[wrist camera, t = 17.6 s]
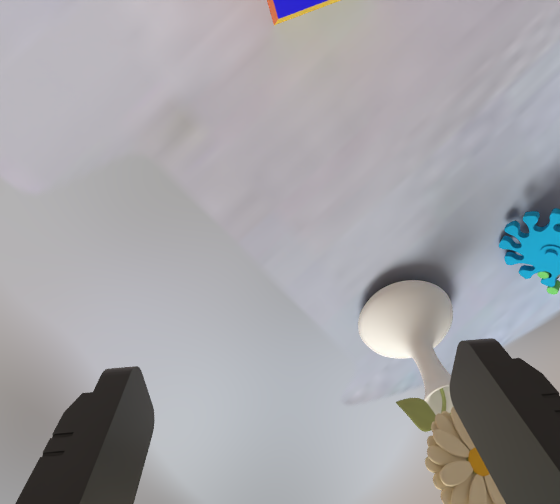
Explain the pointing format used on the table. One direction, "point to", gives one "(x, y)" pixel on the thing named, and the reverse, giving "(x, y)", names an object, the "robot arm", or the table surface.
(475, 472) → the flower in vase
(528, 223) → the blue toy dinosaur
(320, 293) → the table surface
